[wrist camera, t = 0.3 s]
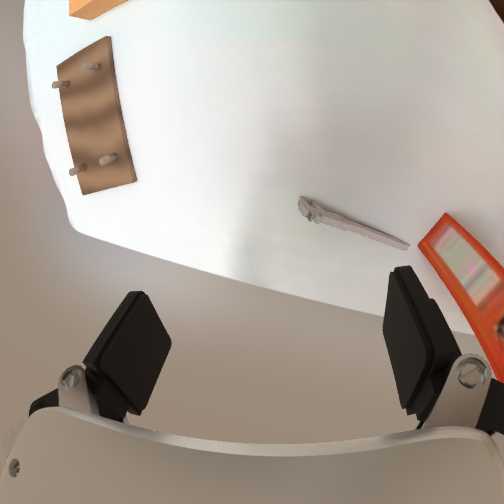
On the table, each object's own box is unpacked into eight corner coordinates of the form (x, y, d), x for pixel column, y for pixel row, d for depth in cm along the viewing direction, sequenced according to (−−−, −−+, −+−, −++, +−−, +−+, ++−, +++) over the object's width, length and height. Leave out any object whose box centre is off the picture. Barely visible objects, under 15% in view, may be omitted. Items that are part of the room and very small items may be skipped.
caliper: (297, 201, 39) (299, 218, 34) (300, 195, 39) (302, 210, 33) (405, 248, 41) (419, 269, 35) (409, 243, 40) (423, 263, 35)
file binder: (446, 210, 36) (566, 356, 8) (484, 262, 39) (563, 385, 12) (417, 245, 40) (506, 412, 12) (459, 289, 43) (523, 421, 15)
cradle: (61, 65, 30) (43, 66, 26) (110, 36, 28) (93, 33, 24) (86, 193, 42) (71, 202, 38) (137, 180, 40) (122, 189, 36)
